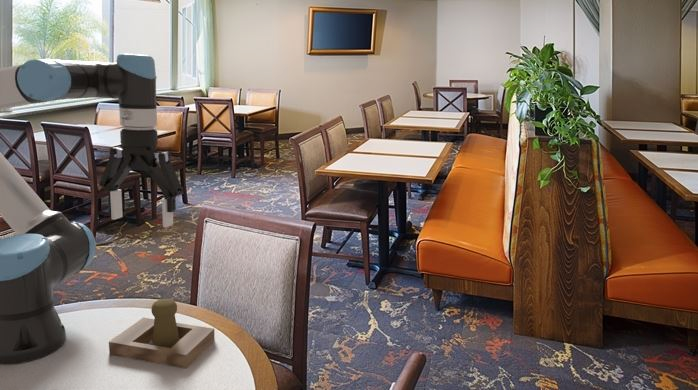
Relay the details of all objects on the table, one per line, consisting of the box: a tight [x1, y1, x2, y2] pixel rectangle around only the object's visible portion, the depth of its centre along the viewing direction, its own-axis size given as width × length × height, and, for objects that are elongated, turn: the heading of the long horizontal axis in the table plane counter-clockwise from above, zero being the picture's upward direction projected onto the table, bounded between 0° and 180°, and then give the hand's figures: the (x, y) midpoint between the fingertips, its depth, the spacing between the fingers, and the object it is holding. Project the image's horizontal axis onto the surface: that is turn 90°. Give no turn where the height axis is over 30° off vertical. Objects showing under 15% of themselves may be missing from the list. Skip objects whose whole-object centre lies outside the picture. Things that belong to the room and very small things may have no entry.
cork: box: [150, 298, 180, 348], centre depth 114 cm, size 6×6×11 cm
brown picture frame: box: [108, 317, 216, 369], centre depth 115 cm, size 18×12×3 cm, turn 77°
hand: (142, 222), depth 119 cm, fingers open, 13 cm apart
